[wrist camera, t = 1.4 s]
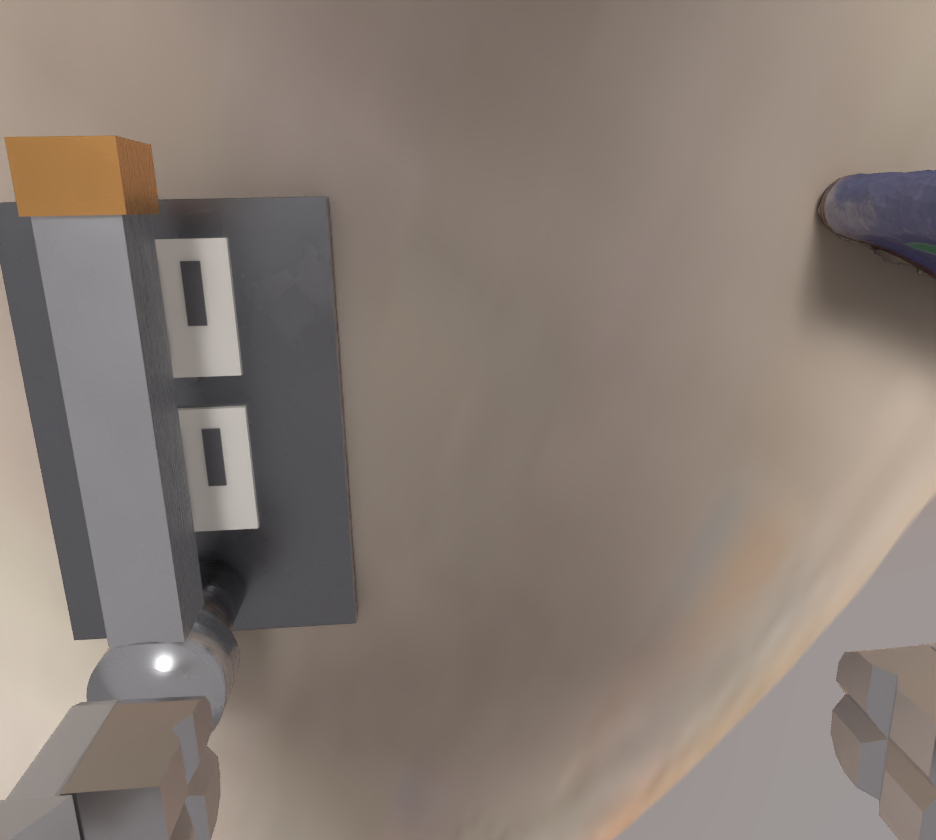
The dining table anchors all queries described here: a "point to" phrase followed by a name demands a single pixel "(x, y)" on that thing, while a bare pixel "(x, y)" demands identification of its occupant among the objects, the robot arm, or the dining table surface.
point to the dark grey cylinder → (221, 591)
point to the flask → (886, 215)
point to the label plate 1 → (199, 306)
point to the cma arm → (122, 413)
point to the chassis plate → (259, 388)
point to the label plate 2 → (219, 467)
